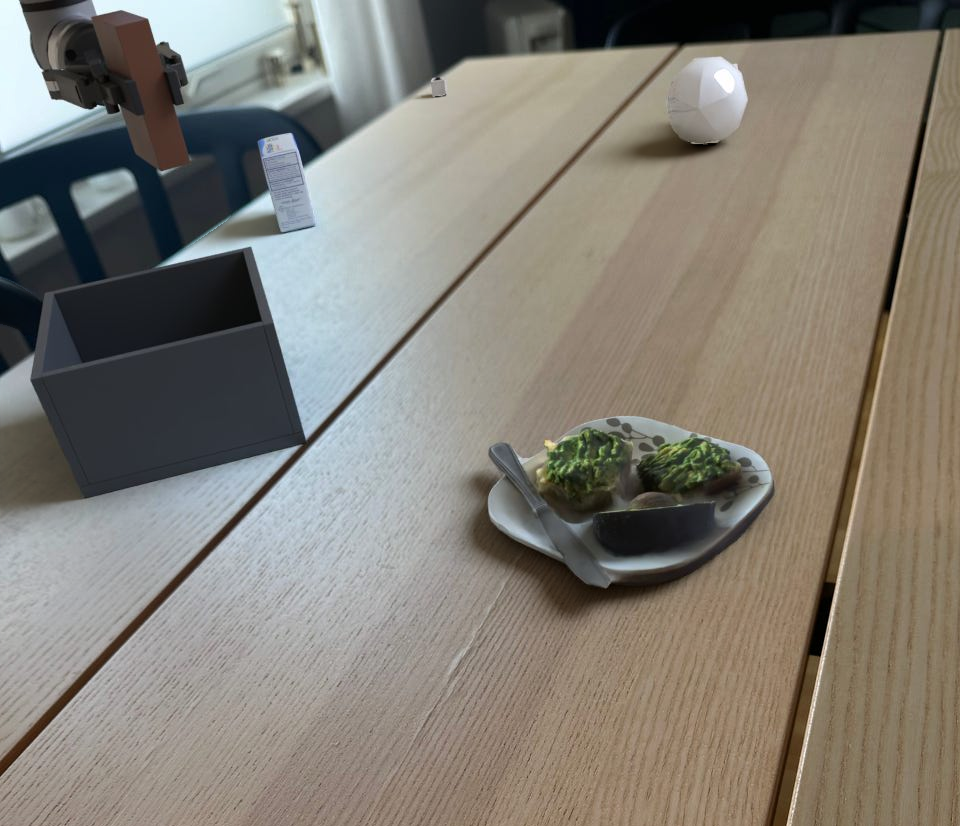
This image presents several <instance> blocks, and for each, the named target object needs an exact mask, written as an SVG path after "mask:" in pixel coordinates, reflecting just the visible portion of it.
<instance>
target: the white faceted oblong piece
mask: <svg viewBox="0 0 960 826" xmlns="http://www.w3.org/2000/svg"><path fill="white" fill-rule="evenodd" d="M742 73H743V72H741V71H740V68H739V65H738V63H731V62H730V61H728V60H727V59H725V58H724V57H722V56H709V57H708V56H707V57H694V58H693V59H692V60H691V61H690V62H689V63H687V64H686V65H685V66H684V67H683V68H681V70H679V71H678V72H677V73H676V74H675V75H674V76H673V78H672V81H671V84H670V87H669V90H668V93H667V96H666V97H667V98H666V100H665V106H666V112H667V117H668V121H669V123H670V125H671V129H672V130H673V132H674V133H675V134H676V135H677V136H678V138H679V139H680V140H683V141H684V142H686V141H689V142H695V143H706V142H711V141H716V140H721V139H723V138H724V139H726V138H727V137H728V136H730V135H731V134H732V133H734V131H736V130H737V129H738V128H740V124H741V122H742V119H743V116H744V113H745V110H746V108H747V105H748V101H749V98H748V94H747V90H746V86H745V82H744V77H743V74H742ZM725 137H726V138H725ZM724 139H723V140H724Z"/></svg>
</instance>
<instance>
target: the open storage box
mask: <svg viewBox="0 0 960 826" xmlns="http://www.w3.org/2000/svg"><path fill="white" fill-rule="evenodd" d="M269 305H270V304H269V302H268V298H267V295H266V292H265V287H264V285H263V282H262V278H261V275H260V271H259V268H258V264H257V261H256V257H255V254H254V251H253V247H252V246H247V247H243V248H238V249H233V250H229V251H224V252H220V253H217V254H211V255H207V256H202V257H199V258H193V259H189V260H185V261H179V262H176V263H171V264H166V265H162V266H158V267H153V268H149V269H144V270H140V271H136V272H132V273H127V274H123V275H117V276H114V277H113V276H112V277H109V278H105V279H101V280H96V281H92V282H87V283H83V284H79V285H74V286H69V287H64V288H61V289H56V290H52V291H46V292H44V296H43V301H42V308H41V312H40V313H41V314H40V320H39V326H38V330H37V331H38V332H37V338H36V342H35V349H34V354H33V355H34V356H33V361H32V367H31V373H30V379H29V381H30V383H31V385H32V387H33V390H34V392H35V395H36V396H37V398H38V401H39V404H40V405H41V407H42V409H43V411H44V413H45V416H46V419H47V421H48V423H49V425H50V427H51V429H52V431H53V433H54V436H55V438H56V441H57V442H58V444H59V447H60V449H61V451H62V453H63V456H64V458H65V460H66V462H67V464H68V467H69V468H70V470H71V473H72V476H73V477H74V479H75V482H76V484H77V486H78V489H79V490H80V492H81V495H82V497H83V499H87V498H91V497H94V496H98V495H103V494H106V493H110V492H114V491H119V490H122V489H127V488H130V487H135V486H138V485H143V484H147V483H151V482H154V481H159V480H162V479H166V478H171V477H174V476H178V475H182V474H187V473H190V472H191V473H192V472H194V471H198V470H203V469H206V468H210V467H214V466H218V465H222V464H226V463H227V464H228V463H230V462H234V461H238V460H242V459H243V460H244V459H246V458H250V457H254V456H258V455H262V454H266V453H270V452H275V451H278V450H283V449H286V448H290V447H295V446H298V445H302V444H306V443H307V439H306V434H305V431H304V428H303V423H302V421H301V420H302V419H301V416H300V413H299V409H298V405H297V401H296V397H295V395H294V391H293V388H292V383H291V379H290V377H289V373H288V369H287V366H286V362H285V358H284V355H283V351H282V348H281V344H280V341H279V337H278V333H277V329H276V326H275V322H274V319H273V315H272V312H271V308H270V306H269Z"/></svg>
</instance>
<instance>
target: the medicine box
mask: <svg viewBox="0 0 960 826" xmlns="http://www.w3.org/2000/svg"><path fill="white" fill-rule="evenodd" d="M294 136H295V135H294V134H293V133H291V132H288V133H281V134H277V135H271V136H267V137H264V138H261V139H259V140H257V147H258V151H259V155H260V159H261V164H262V169H263V173H264V176H265V180H266V184H267V187H268V191H269V194H270V198H271V202H272V206H273V210H274V214H275V216H276V220H277V225H278V227H279V230H280V232H281V233H288V232H292V231H297V230H302V229H306V228H310V227H315V226H316V225H317V219H316V215H315V212H314V207H313V204H312V199H311V194H310V191H309V186H308V182H307V178H306V175H305V170H304V167H303V163H302V158H301V154H300V150H299V148H298V145H297V142H296V139H295V137H294Z"/></svg>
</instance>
